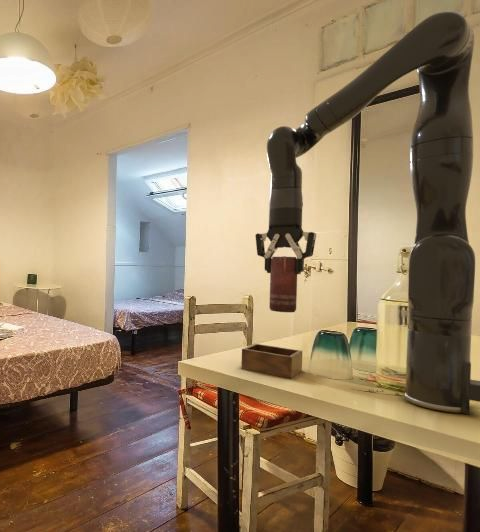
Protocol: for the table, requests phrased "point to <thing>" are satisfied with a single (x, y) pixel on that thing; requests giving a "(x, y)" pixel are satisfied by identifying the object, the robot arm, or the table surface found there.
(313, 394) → the table surface
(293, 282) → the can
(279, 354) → the holder
